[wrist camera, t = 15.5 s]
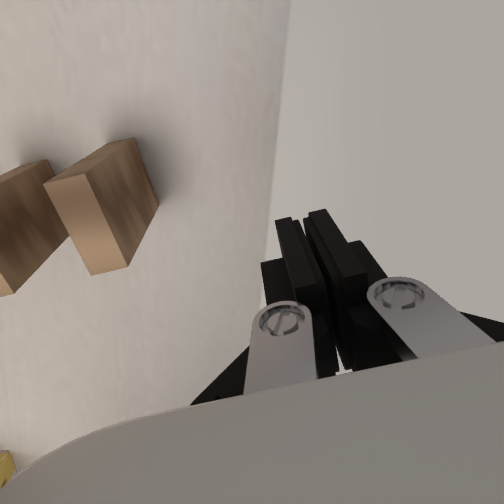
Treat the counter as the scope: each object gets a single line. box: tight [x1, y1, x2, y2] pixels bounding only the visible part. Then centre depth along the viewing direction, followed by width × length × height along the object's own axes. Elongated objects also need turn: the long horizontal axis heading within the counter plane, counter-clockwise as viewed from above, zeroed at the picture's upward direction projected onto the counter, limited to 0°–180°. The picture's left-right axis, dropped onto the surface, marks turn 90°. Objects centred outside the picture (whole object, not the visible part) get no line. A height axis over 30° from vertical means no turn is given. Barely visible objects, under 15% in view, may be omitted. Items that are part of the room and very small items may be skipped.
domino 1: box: [0, 160, 69, 297], centre depth 26 cm, size 6×2×11 cm, turn 13°
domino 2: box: [43, 137, 159, 276], centre depth 25 cm, size 6×2×11 cm, turn 13°
